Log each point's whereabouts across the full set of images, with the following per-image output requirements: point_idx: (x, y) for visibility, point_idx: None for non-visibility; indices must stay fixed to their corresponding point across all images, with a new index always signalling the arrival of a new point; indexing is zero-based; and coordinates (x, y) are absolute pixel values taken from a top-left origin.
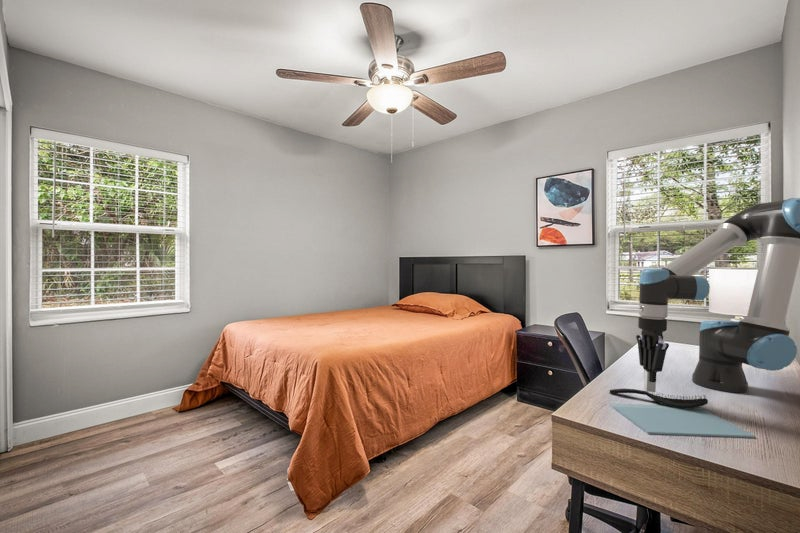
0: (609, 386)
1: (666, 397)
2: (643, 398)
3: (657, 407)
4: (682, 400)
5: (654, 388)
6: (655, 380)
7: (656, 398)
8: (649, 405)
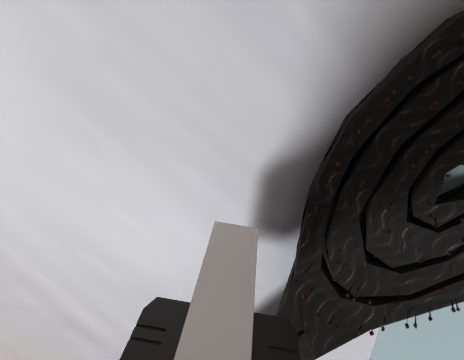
0: (17, 341)
1: (424, 261)
2: (256, 290)
3: (458, 352)
4: (449, 95)
5: (254, 252)
6: (294, 343)
7: (387, 318)
8: (398, 358)
